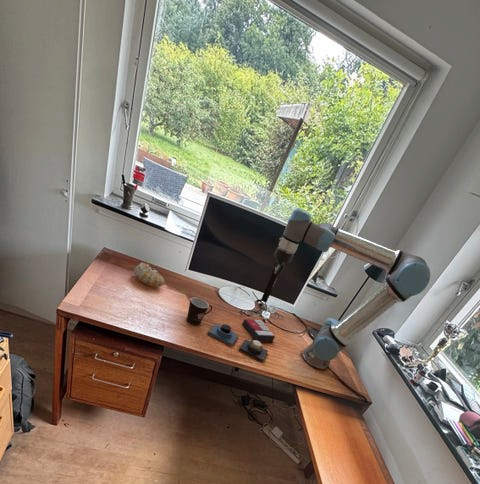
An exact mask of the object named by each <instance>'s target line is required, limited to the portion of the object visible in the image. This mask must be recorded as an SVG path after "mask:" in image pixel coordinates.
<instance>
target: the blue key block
mask: <svg viewBox="0 0 480 484" xmlns="http://www.w3.org/2000/svg"><path fill="white" fill-rule="evenodd" d="M222 325H223V324H221V325H220V324H217V323H215V325H213V327H212V328H211V329H210V330H209V331H208V333H207V334H208V336H210V337H212V338H214V339H216V340H217V341H220V342H221V343H223V344H226V345H228V346H229V347H232V346H233V345H234V343H235V342H236V340H237V339H238V337H239V335H238V334H237V333H235V332H234V331H233V329H231V330H230V333H225V332H223V331H222V330H221V327H222Z"/></svg>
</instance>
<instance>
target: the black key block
mask: <svg viewBox="0 0 480 484" xmlns="http://www.w3.org/2000/svg"><path fill="white" fill-rule="evenodd" d="M253 341H254V340H249V339H245V340H244V341H243V342H242V344H241V346H240V347H239V349H238V351H239V352H241V353H242V354H245V355H247V356H248V357H251V358H252V359H255V360H256V361H258V362H259V363H263V362H264V359H265V358H266V356H267V354H268V351H269V350H268V349H265V348H264V346H263V345H262V346H261V348H260V349H255V348H253V347H252V342H253Z"/></svg>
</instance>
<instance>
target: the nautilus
mask: <svg viewBox="0 0 480 484" xmlns="http://www.w3.org/2000/svg"><path fill="white" fill-rule="evenodd" d="M150 265H152V263H150V262H147V261H145V262H140V263H139V264H137V265H136V266H135V267H134V268H133V272H134V275H135V277H136V279H137V280H138V281H140V282H142V283H144V284H145V285H147V286H151V287H157V288H158V287H163V285H164V284H165V282H166V281H165V277H163V276H162V275H161V273H160V272H159V271H158V270H157V269H156V268H155V267H154V268H153V267H152V266H150Z"/></svg>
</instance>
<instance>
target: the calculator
mask: <svg viewBox="0 0 480 484" xmlns="http://www.w3.org/2000/svg"><path fill="white" fill-rule="evenodd" d="M241 324H242V327H244V328H245V330H246V331H247V332H248V333H249V334H250V335H251V339H253V341H254V340H257V341H259V342H261V343H273V341H274V339H275V338H276V336H275V334H274V333H273V332H272V331H271V329H270V328H269V327H268V326H267V325H266V324H265V322H263V321H262V320H261V319H251V318H245V319H243V321H242V323H241Z"/></svg>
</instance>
